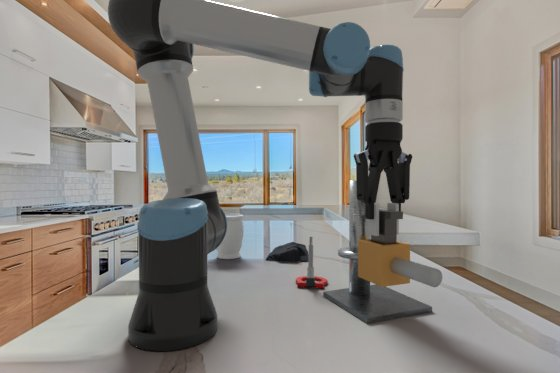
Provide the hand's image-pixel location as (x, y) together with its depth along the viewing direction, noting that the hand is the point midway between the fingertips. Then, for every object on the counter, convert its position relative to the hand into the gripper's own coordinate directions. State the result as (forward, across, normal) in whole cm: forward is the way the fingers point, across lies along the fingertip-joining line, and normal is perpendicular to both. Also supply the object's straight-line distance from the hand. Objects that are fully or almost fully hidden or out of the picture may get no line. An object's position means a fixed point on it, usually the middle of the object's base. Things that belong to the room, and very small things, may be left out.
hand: (383, 234), depth 73 cm
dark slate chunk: (+16, +2, +55) cm, 58 cm away
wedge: (+8, 0, 0) cm, 8 cm away
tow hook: (+16, -6, +22) cm, 28 cm away
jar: (+16, -19, +60) cm, 65 cm away
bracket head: (+10, 0, -5) cm, 11 cm away
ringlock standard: (+16, 0, +4) cm, 16 cm away
